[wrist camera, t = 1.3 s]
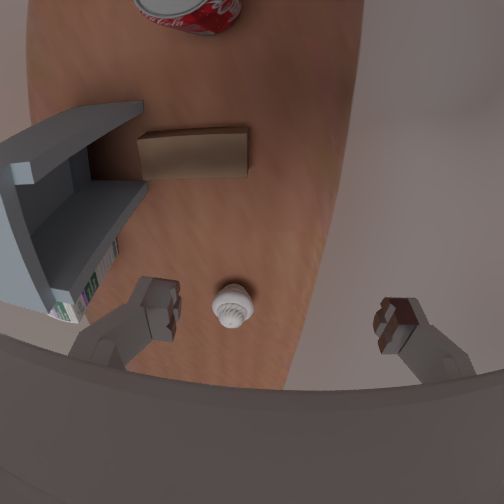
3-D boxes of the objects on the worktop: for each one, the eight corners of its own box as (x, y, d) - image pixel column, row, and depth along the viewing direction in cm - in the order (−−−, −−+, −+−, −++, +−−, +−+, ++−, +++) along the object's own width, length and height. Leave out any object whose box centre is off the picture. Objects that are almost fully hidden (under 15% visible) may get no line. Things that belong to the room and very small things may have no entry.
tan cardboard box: (147, 131, 32) (136, 139, 29) (248, 126, 32) (246, 133, 29) (152, 169, 35) (143, 180, 32) (248, 166, 35) (247, 177, 32)
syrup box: (119, 254, 43) (81, 326, 31) (88, 250, 43) (46, 317, 31) (113, 223, 40) (66, 293, 28) (81, 220, 39) (30, 285, 28)
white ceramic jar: (212, 300, 48) (206, 334, 42) (217, 272, 44) (210, 307, 39) (250, 307, 48) (248, 341, 43) (258, 279, 45) (257, 315, 39)
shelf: (73, 107, 29) (-57, 181, 12) (143, 100, 29) (14, 171, 12) (84, 190, 36) (-9, 298, 19) (148, 191, 36) (67, 318, 19)
